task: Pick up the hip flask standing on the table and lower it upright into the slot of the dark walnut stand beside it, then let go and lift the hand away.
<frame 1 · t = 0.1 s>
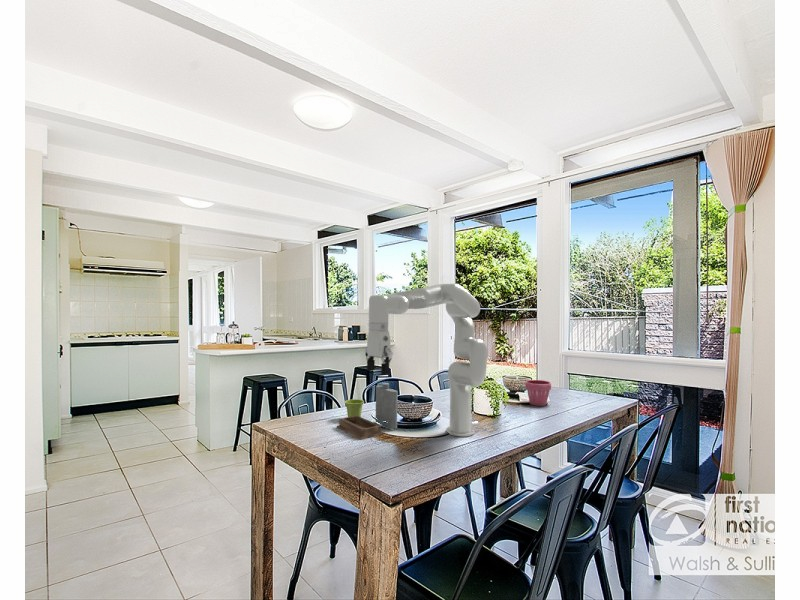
hand: (377, 372, 163), 31 cm above the table, tool pointing down, fingers open, 9 cm apart
plant pot 2: (354, 419, 209), on the table
walnut stand: (359, 431, 190), on the table
plant pot: (537, 404, 245), on the table
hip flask: (385, 426, 199), on the table
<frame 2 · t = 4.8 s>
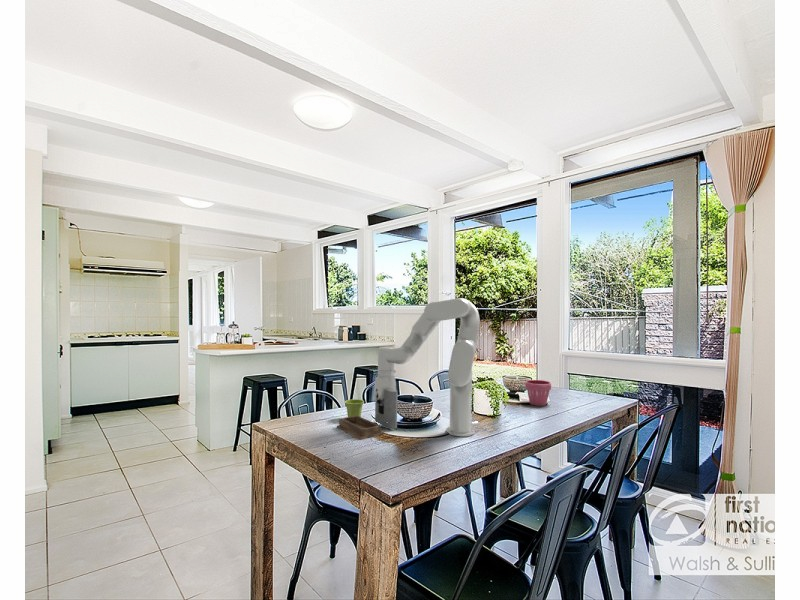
hand: (385, 412, 199), 6 cm above the table, tool pointing down, fingers closed on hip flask, 3 cm apart
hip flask: (384, 426, 199), on the table, touching gripper
everything else where it was.
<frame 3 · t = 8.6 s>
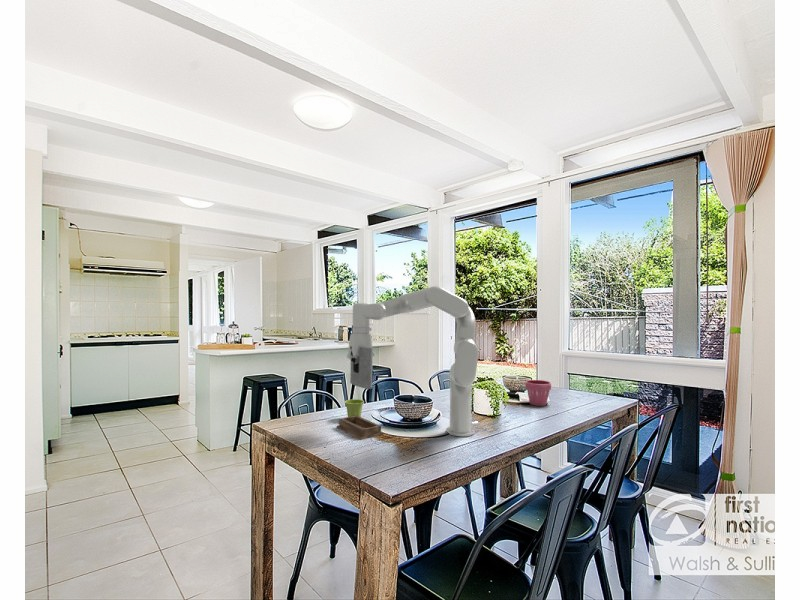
hand: (360, 371, 190), 27 cm above the table, tool pointing down, fingers closed on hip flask, 3 cm apart
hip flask: (360, 386, 190), point 20 cm above the table, touching gripper
everything else where it was.
when the fingers open (9 cm above the table, at t = 12.2 s): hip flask drops 1 cm, resting on walnut stand.
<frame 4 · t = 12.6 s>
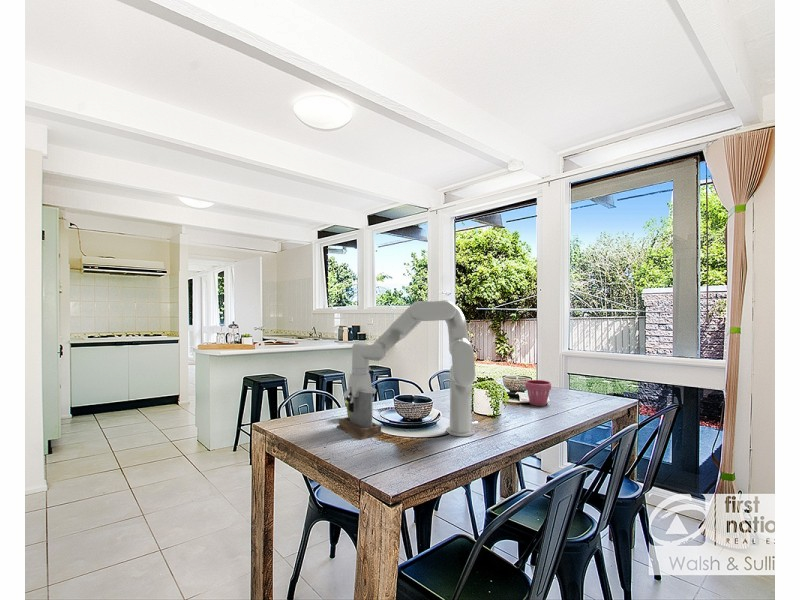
hand: (359, 409, 190), 10 cm above the table, tool pointing down, fingers open, 8 cm apart
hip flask: (359, 429, 190), point 1 cm above the table, touching walnut stand
everything else where it was.
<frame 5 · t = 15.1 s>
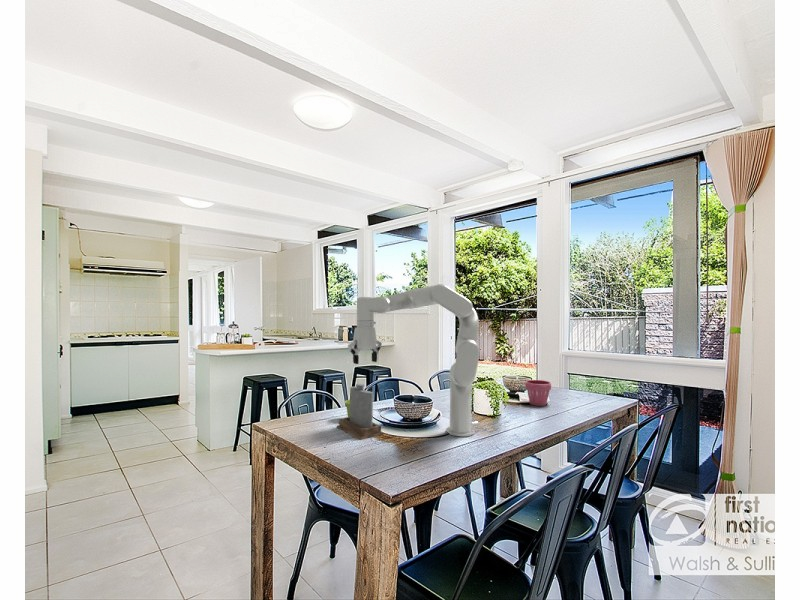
hand: (365, 362, 191), 31 cm above the table, tool pointing down, fingers open, 9 cm apart
nothing on the table moved.
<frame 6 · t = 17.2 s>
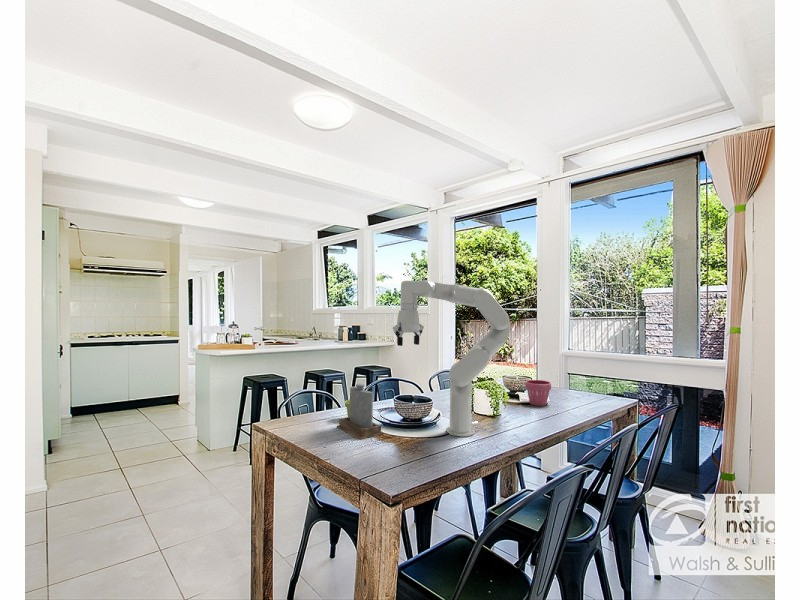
hand: (408, 345, 195), 38 cm above the table, tool pointing down, fingers open, 9 cm apart
nothing on the table moved.
at the end: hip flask 0.1 cm off-centre on the walnut stand, point 0.8 cm above the walnut stand's base; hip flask tilted 0°; the gripper is holding nothing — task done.
